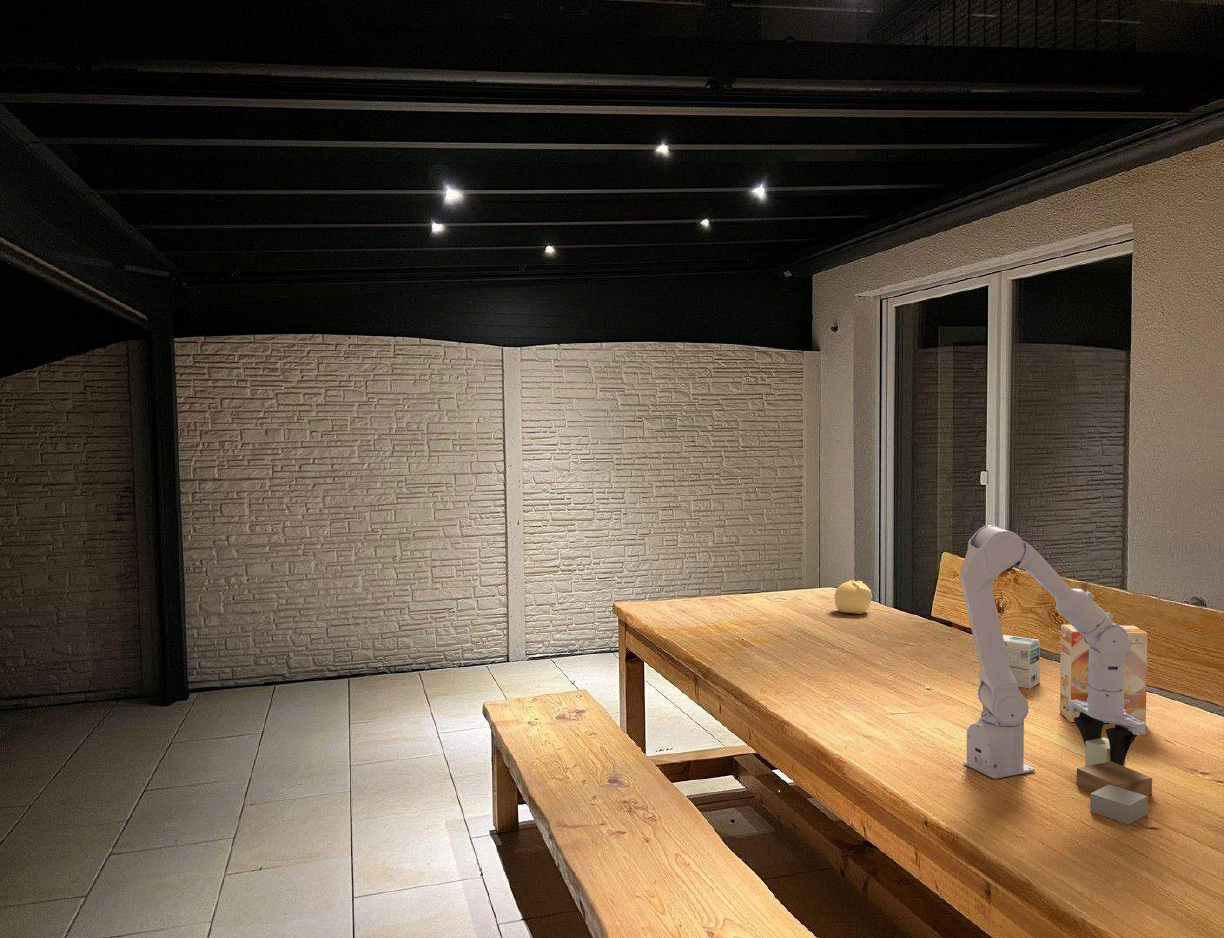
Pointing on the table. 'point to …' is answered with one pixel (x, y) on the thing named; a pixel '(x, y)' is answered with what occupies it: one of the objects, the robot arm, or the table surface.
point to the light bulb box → (1024, 659)
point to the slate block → (1118, 804)
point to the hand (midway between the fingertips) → (1105, 761)
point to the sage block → (1097, 751)
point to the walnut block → (1113, 778)
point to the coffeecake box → (1077, 667)
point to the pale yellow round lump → (853, 597)
